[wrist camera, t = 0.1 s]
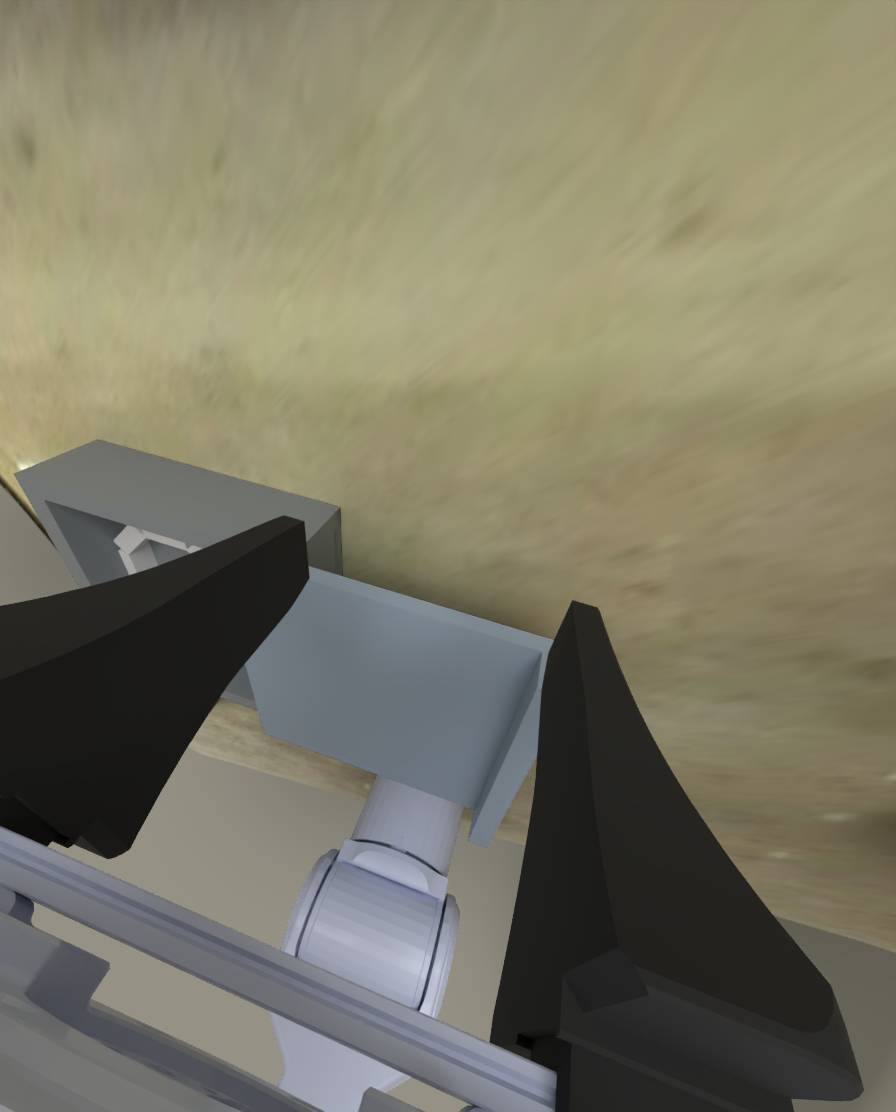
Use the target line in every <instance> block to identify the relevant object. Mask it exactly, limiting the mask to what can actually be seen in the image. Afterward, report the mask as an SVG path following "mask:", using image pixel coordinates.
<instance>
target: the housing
mask: <svg viewBox="0 0 896 1112" xmlns="http://www.w3.org/2000/svg"><path fill="white" fill-rule="evenodd" d="M14 475H15V477H16V479H17V481H18V482H19V484H20V486H21V487H22V489H23V491H24V493H25V494H26V496H27V498H28V500H29V501H30V503H31V505H32V507H33V508H34V510H35V512H36V514H37V515H38V517H39V519H40V520H41V522H42V524H43V526H44V527H45V529H46V531H47V533H48V534H49V536H50V538H51V540H52V541H53V543H54V545H55V547H56V548H57V550H58V552H59V553H60V555H61V557H62V559H63V560H64V562H65V564H66V565H67V567H68V569H69V570H70V573H71V574H72V576H73V578H74V580H75V581H76V583H77V585H78V586H79V588H84V587H88V586H93V585H97V584H100V583H104V582H108V581H111V580H114V579H118V578H121V577H124V576H128V575H131V574H134V573H138V572H141V571H144V570H147V569H150V568H153V567H156V566H158V565H161V564H164V563H167V562H169V561H172V560H174V559H177V558H180V557H182V556H185V555H188V554H190V553H193V552H196V551H198V550H201V549H203V548H206V547H208V546H211V545H213V544H215V543H218V542H220V541H223V540H225V539H227V538H230V537H232V536H234V535H237V534H239V533H241V532H244V531H246V530H248V529H251V528H253V527H255V526H258V525H260V524H263V523H265V522H267V521H270V520H272V519H275V518H278V517H280V516H283V515H285V516H289V517H292V518H295V519H299V520H302V521H305V532H306V543H307V554H308V565H309V566H310V567H313V568H317V569H320V570H323V571H327V572H330V573H333V574H337V575H340V576H343V575H342V548H341V520H340V507H338V506H334V505H331V504H327V503H323V502H320V501H316V500H313V499H309V498H306V497H302V496H298V495H295V494H291V493H288V492H284V491H280V490H277V489H273V488H270V487H266V486H262V485H259V484H255V483H252V482H248V481H245V480H241V479H237V478H234V477H230V476H227V475H223V474H219V473H216V472H212V471H209V470H205V469H201V468H198V467H194V466H191V465H187V464H183V463H180V462H176V461H173V460H169V459H166V458H162V457H158V456H155V455H151V454H148V453H144V452H140V451H137V450H133V449H130V448H126V447H122V446H119V445H115V444H112V443H108V442H105V441H101V440H95V441H92V442H90V443H88V444H85V445H83V446H80V447H78V448H75V449H73V450H71V451H68V452H66V453H63V454H61V455H58V456H56V457H54V458H51V459H49V460H46V461H44V462H41V463H39V464H36V465H34V466H32V467H29V468H27V469H24V470H22V471H19V472H17V473H15V474H14ZM220 697H221V698H223V699H226V700H229V701H232V702H234V703H237V704H240V705H243V706H246V707H248V708H251V709H254V710H257V711H258V709H257V705H256V702H255V698H254V694H253V691H252V687H251V684H250V680H249V677H248V673H247V669H246V666H245V664H244V666H243V667H242V668H241V669H240V670H239V672H238V673H237V674H236V676H235V677H234V678H233V679H232V681H231V682H230V683H229V685H228V686H227V687H226V689H225V690H224V692H223V693H222V695H221V696H220Z"/></svg>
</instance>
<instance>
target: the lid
mask: <svg viewBox="0 0 896 1112" xmlns="http://www.w3.org/2000/svg"><path fill="white" fill-rule="evenodd" d="M309 576H310V578H309V580H308V582H307V583H306V585H305V587H304V588H303V590H302V592H301V593H300V595H299V596H298V598H297V600H296V601H295V603H294V604H293V606H292V607H291V609H290V610H289V611H288V612H287V614H286V615H285V616H284V617H283V619H282V620H281V621H280V622H279V624H278V625H277V626H276V627H275V628H274V630H273V631H272V632H271V633H270V634H269V636H268V637H267V638H266V639H265V640H264V642H263V643H262V644H261V645H260V646H259V648H258V649H257V650H256V651H255V652H254V654H253V655H252V656H251V657H250V658H249V660H248V661H247V662H246V663H245V666H246V669H247V673H248V677H249V680H250V684H251V687H252V691H253V694H254V698H255V702H256V705H257V709H258V712H259V716H260V719H261V723H262V727H263V730H264V733H265V734H268V735H270V736H273V737H276V738H279V739H281V740H284V741H287V742H289V743H292V744H295V745H298V746H300V747H303V748H306V749H309V750H311V751H314V752H317V753H319V754H322V755H325V756H328V757H330V758H333V759H336V760H339V761H341V762H344V763H347V764H349V765H352V766H355V767H358V768H360V769H363V770H366V771H369V772H371V773H374V774H377V775H380V776H382V777H385V778H388V779H390V780H393V781H396V782H399V783H401V784H404V785H407V786H410V787H412V788H415V789H418V790H420V791H423V792H426V793H429V794H431V795H434V796H437V797H440V798H442V799H445V800H448V801H450V802H453V803H456V804H459V805H461V806H464V807H467V808H470V809H472V810H474V814H473V819H472V824H471V828H470V833H469V837H468V841H470V842H473V843H475V844H478V845H481V846H483V847H486V848H487V846H488V844H489V842H490V840H491V839H492V837H493V835H494V833H495V832H496V830H497V828H498V826H499V824H500V823H501V821H502V819H503V817H504V815H505V814H506V812H507V810H508V808H509V806H510V804H511V803H512V801H513V799H514V797H515V795H516V794H517V792H518V790H519V788H520V786H521V785H522V783H523V781H524V779H525V777H526V775H527V774H528V772H529V770H530V768H531V766H532V765H533V763H534V761H535V759H536V757H537V750H538V734H539V718H540V704H541V690H542V684H543V678H544V673H545V667H546V662H547V657H548V652H549V650H550V648H551V646H552V644H553V641H554V640H552V639H548V638H545V637H542V636H538V635H535V634H532V633H528V632H525V631H522V630H518V629H515V628H512V627H509V626H505V625H502V624H499V623H495V622H492V621H489V620H485V619H482V618H479V617H475V616H472V615H469V614H466V613H462V612H459V611H456V610H452V609H449V608H446V607H442V606H439V605H436V604H432V603H429V602H426V601H423V600H419V599H416V598H413V597H409V596H406V595H403V594H399V593H396V592H393V591H389V590H386V589H383V588H380V587H376V586H373V585H370V584H366V583H363V582H360V581H356V580H353V579H350V578H346V577H343V576H340V575H337V574H333V573H330V572H327V571H323V570H320V569H317V568H313V567H310V566H309Z"/></svg>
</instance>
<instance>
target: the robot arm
mask: <svg viewBox="0 0 896 1112" xmlns="http://www.w3.org/2000/svg"><path fill="white" fill-rule="evenodd" d="M309 578H310V576H309V565H308V554H307V543H306V532H305V521H302V520H299V519H295V518H292V517H289V516H285V515H283V516H280V517H278V518H275V519H272V520H270V521H267V522H265V523H263V524H260V525H258V526H255V527H253V528H251V529H248V530H246V531H244V532H241V533H239V534H237V535H234V536H232V537H230V538H227V539H225V540H223V541H220V542H218V543H215V544H213V545H211V546H208V547H206V548H203V549H201V550H198V551H196V552H193V553H190V554H188V555H185V556H182V557H180V558H177V559H174V560H172V561H169V562H167V563H164V564H161V565H158V566H156V567H153V568H150V569H147V570H144V571H141V572H138V573H134V574H131V575H128V576H124V577H121V578H118V579H114V580H111V581H108V582H104V583H100V584H97V585H93V586H88V587H84V588H80V589H76V590H72V591H68V592H64V593H60V594H56V595H52V596H48V597H43V598H39V599H34V600H29V601H24V602H19V603H14V604H9V605H3V606H0V1112H424V1111H422V1110H420V1109H418V1108H416V1107H413V1106H411V1105H409V1104H407V1103H405V1102H403V1101H401V1100H398V1099H397V1098H394V1097H392V1096H390V1095H388V1094H386V1092H388V1091H390V1090H391V1089H393V1088H395V1087H396V1086H398V1085H400V1084H401V1083H403V1082H405V1081H407V1080H408V1079H410V1078H411V1077H412V1078H414V1079H417V1080H419V1081H421V1082H423V1083H426V1084H427V1085H430V1086H432V1087H434V1088H436V1089H438V1090H440V1091H443V1092H445V1093H447V1094H449V1095H451V1096H453V1097H455V1098H457V1099H460V1100H462V1101H464V1102H466V1103H468V1104H470V1105H473V1106H466V1107H464V1108H463V1109H461V1110H460V1112H794V1110H793V1105H792V1101H791V1099H807V1100H825V1101H851V1100H854V1099H856V1098H858V1097H859V1096H860V1095H861V1094H862V1092H863V1091H864V1088H863V1084H862V1081H861V1077H860V1074H859V1070H858V1067H857V1063H856V1060H855V1057H854V1053H853V1050H852V1046H851V1043H850V1040H849V1036H848V1033H847V1029H846V1026H845V1023H844V1021H843V1018H842V1015H841V1012H840V1010H839V1006H838V1004H837V1001H836V998H835V996H834V993H833V990H832V988H831V985H830V984H829V983H828V982H827V980H826V979H825V978H824V977H823V976H822V974H821V973H820V972H819V971H818V969H817V968H816V967H815V966H814V965H813V963H812V962H811V961H810V960H809V958H808V957H807V956H806V955H805V954H804V952H803V951H802V950H801V949H800V948H799V946H798V945H797V944H796V943H795V941H794V940H793V939H792V938H791V937H790V935H789V934H788V933H787V932H786V930H785V929H784V928H783V927H782V926H781V924H780V923H779V922H778V921H777V920H776V918H775V917H774V916H773V915H772V913H771V912H770V911H769V910H768V908H767V907H766V906H765V905H764V903H763V902H762V901H761V899H760V898H759V897H758V895H757V894H756V893H755V891H754V890H753V889H752V887H751V886H750V885H749V883H748V882H747V881H746V879H745V878H744V877H743V875H742V874H741V873H740V871H739V870H738V869H737V867H736V866H735V865H734V864H733V862H732V861H731V860H730V858H729V857H728V855H727V854H726V853H725V851H724V850H723V848H722V847H721V845H720V844H719V842H718V841H717V839H716V838H715V837H714V835H713V834H712V832H711V831H710V829H709V828H708V826H707V825H706V823H705V822H704V820H703V819H702V818H701V816H700V815H699V813H698V812H697V810H696V809H695V807H694V806H693V804H692V803H691V801H690V800H689V798H688V797H687V795H686V793H685V792H684V790H683V789H682V787H681V785H680V784H679V782H678V781H677V779H676V777H675V776H674V774H673V772H672V771H671V769H670V767H669V765H668V764H667V762H666V760H665V758H664V757H663V755H662V753H661V751H660V750H659V748H658V746H657V744H656V742H655V741H654V739H653V737H652V735H651V733H650V731H649V729H648V727H647V725H646V723H645V721H644V719H643V717H642V715H641V713H640V711H639V709H638V707H637V705H636V703H635V700H634V698H633V696H632V694H631V692H630V689H629V687H628V685H627V682H626V680H625V678H624V675H623V673H622V671H621V668H620V666H619V663H618V661H617V658H616V656H615V653H614V651H613V648H612V645H611V643H610V640H609V637H608V634H607V631H606V629H605V626H604V623H603V620H602V617H601V614H600V611H599V610H598V608H597V607H594V606H590V605H587V604H584V603H580V602H577V601H573V600H572V602H571V604H570V607H569V609H568V611H567V613H566V615H565V618H564V620H563V622H562V624H561V626H560V628H559V631H558V633H557V635H556V637H555V639H554V641H553V644H552V646H551V648H550V650H549V652H548V657H547V662H546V667H545V673H544V678H543V684H542V690H541V704H540V718H539V734H538V750H537V766H536V779H535V789H534V797H533V804H532V810H531V816H530V822H529V829H528V835H527V841H526V847H525V852H524V859H523V864H522V870H521V876H520V881H519V887H518V892H517V898H516V903H515V908H514V914H513V919H512V925H511V930H510V935H509V940H508V945H507V951H506V956H505V960H504V965H503V970H502V976H501V981H500V986H499V990H498V995H497V1000H496V1005H495V1009H494V1014H493V1021H492V1028H491V1035H490V1043H489V1042H487V1041H485V1040H483V1039H480V1038H478V1037H476V1036H473V1035H471V1034H469V1033H467V1032H464V1031H462V1030H460V1029H458V1028H455V1027H453V1026H451V1025H449V1024H446V1023H444V1022H442V1021H439V1020H437V1017H438V1014H439V1011H440V1007H441V1004H442V1001H443V997H444V993H445V989H446V985H447V980H448V977H449V972H450V968H451V963H452V958H453V953H454V948H455V943H456V938H457V932H458V926H459V917H460V911H459V908H458V906H457V903H456V899H455V897H454V896H453V895H450V894H447V895H446V890H447V887H448V882H449V878H447V875H448V870H449V866H450V862H451V858H452V854H453V850H454V845H455V841H456V837H457V833H458V829H459V824H460V820H461V816H462V812H463V808H464V806H461V805H459V804H456V803H453V802H450V801H448V800H445V799H442V798H440V797H437V796H434V795H431V794H429V793H426V792H423V791H420V790H418V789H415V788H412V787H410V786H407V785H404V784H401V783H399V782H396V781H393V780H390V779H388V778H385V777H382V776H380V775H377V776H376V779H375V781H374V783H373V786H372V788H371V791H370V793H369V795H368V798H367V800H366V803H365V805H364V808H363V810H362V813H361V815H360V817H359V820H358V822H357V825H356V827H355V830H354V832H353V834H352V837H351V839H347V838H346V839H345V840H344V842H343V844H342V847H341V849H340V851H339V850H337V849H331V850H330V851H329V852H328V853H326V854H325V855H323V856H321V857H320V858H319V859H318V861H317V862H316V863H315V865H314V867H313V868H312V870H311V872H310V874H309V876H308V877H307V879H306V881H305V883H304V885H303V887H302V890H301V892H300V894H299V896H298V899H297V901H296V903H295V906H294V908H293V911H292V913H291V916H290V919H289V922H288V925H287V928H286V931H285V934H284V938H283V942H282V946H281V948H280V950H279V949H277V948H275V947H272V946H270V945H268V944H266V943H263V942H261V941H259V940H256V939H254V938H252V937H250V936H247V935H245V934H243V933H241V932H238V931H236V930H234V929H232V928H229V927H227V926H225V925H223V924H220V923H218V922H216V921H213V920H211V919H209V918H207V917H205V916H202V915H200V914H198V913H195V912H193V911H191V910H189V909H186V908H184V907H182V906H180V905H177V904H175V903H173V902H171V901H168V900H166V899H164V898H162V897H159V896H157V895H155V894H153V893H150V892H148V891H146V890H144V889H141V888H139V887H137V886H134V885H132V884H130V883H128V882H125V881H123V880H121V879H118V878H116V877H114V876H111V875H110V874H107V873H105V872H103V871H100V870H98V869H96V868H94V867H91V866H89V865H87V864H84V863H82V862H80V861H78V860H76V859H73V858H71V857H69V856H67V855H64V854H62V853H60V852H58V851H55V850H53V849H51V848H48V847H47V846H48V845H49V844H50V843H51V842H52V841H53V842H55V843H57V844H60V845H62V846H64V847H66V848H69V847H71V846H72V845H73V844H75V845H76V846H79V847H81V848H84V849H86V850H88V851H90V852H93V853H95V854H97V855H99V856H102V857H104V858H106V859H111V858H114V857H117V856H119V855H121V854H123V853H125V852H126V851H128V850H129V849H130V848H131V846H132V844H133V842H134V840H135V838H136V836H137V834H138V832H139V831H140V829H141V827H142V825H143V823H144V822H145V820H146V818H147V816H148V814H149V812H150V811H151V809H152V807H153V805H154V803H155V801H156V800H157V798H158V796H159V794H160V792H161V791H162V789H163V787H164V785H165V784H166V782H167V780H168V779H169V777H170V775H171V774H172V772H173V770H174V768H175V767H176V765H177V764H178V761H179V760H180V758H181V757H182V755H183V753H184V752H185V750H186V748H187V747H188V745H189V744H190V742H191V741H192V739H193V738H194V736H195V734H196V733H197V731H198V730H199V728H200V727H201V725H202V723H203V722H204V720H205V719H206V717H207V716H208V714H209V713H210V711H211V710H212V708H213V707H214V705H215V704H216V702H217V701H218V699H219V698H220V696H221V695H222V693H223V692H224V690H225V689H226V687H227V686H228V685H229V683H230V682H231V681H232V679H233V678H234V677H235V676H236V674H237V673H238V672H239V670H240V669H241V668H242V667H243V666H244V664H245V663H246V662H247V661H248V660H249V658H250V657H251V656H252V655H253V654H254V652H255V651H256V650H257V649H258V648H259V646H260V645H261V644H262V643H263V642H264V640H265V639H266V638H267V637H268V636H269V634H270V633H271V632H272V631H273V630H274V628H275V627H276V626H277V625H278V624H279V622H280V621H281V620H282V619H283V617H284V616H285V615H286V614H287V612H288V611H289V610H290V609H291V607H292V606H293V604H294V603H295V601H296V600H297V598H298V596H299V595H300V593H301V592H302V590H303V588H304V587H305V585H306V583H307V582H308V580H309ZM445 895H446V898H445ZM444 899H445V901H444ZM31 900H32V901H34V902H36V903H38V904H40V905H42V906H44V907H47V908H49V909H51V910H53V911H56V912H57V913H59V914H62V915H64V916H66V917H68V918H70V919H72V920H75V921H77V922H79V923H81V924H83V925H85V926H88V927H90V928H92V929H94V930H96V931H98V932H100V933H103V934H105V935H107V936H109V937H111V938H113V939H115V940H118V941H120V942H122V943H124V944H126V945H128V946H130V947H133V948H135V949H137V950H139V951H141V952H144V953H146V954H148V955H150V956H152V957H154V958H156V959H158V960H161V961H163V962H165V963H167V964H169V965H171V966H174V967H176V968H178V969H180V970H182V971H184V972H187V973H189V974H191V975H193V976H195V977H197V978H199V979H202V980H204V981H206V982H208V983H210V984H212V985H214V986H217V987H219V988H221V989H223V990H225V991H227V992H229V993H232V994H234V995H236V996H238V997H240V998H242V999H245V1000H247V1001H249V1002H251V1003H253V1004H255V1005H258V1006H260V1007H262V1008H264V1009H266V1010H268V1015H269V1018H270V1021H271V1024H272V1028H273V1031H274V1034H275V1037H276V1041H277V1044H278V1047H279V1050H280V1054H281V1057H282V1061H283V1065H284V1071H283V1074H282V1077H281V1079H280V1082H279V1084H278V1087H276V1086H274V1085H272V1084H271V1083H269V1082H266V1081H265V1080H262V1079H261V1078H258V1077H257V1076H254V1075H252V1074H251V1073H249V1072H246V1071H244V1070H242V1069H240V1068H238V1067H236V1066H234V1065H232V1064H230V1063H228V1062H226V1061H224V1060H222V1059H220V1058H217V1057H215V1056H213V1055H211V1054H209V1053H207V1052H205V1051H203V1050H201V1049H198V1048H196V1047H194V1046H192V1045H190V1044H188V1043H186V1042H184V1041H181V1040H179V1039H177V1038H175V1037H173V1036H170V1035H168V1034H166V1033H164V1032H162V1031H160V1030H158V1029H155V1028H153V1027H151V1026H149V1025H147V1024H145V1023H142V1022H140V1021H138V1020H136V1019H134V1018H132V1017H129V1016H127V1015H125V1014H123V1013H121V1012H119V1011H116V1010H114V1009H112V1008H110V1007H108V1006H105V1005H103V1004H101V1003H99V1002H97V1001H95V1000H93V999H91V997H92V995H93V993H94V992H95V990H96V988H97V987H98V985H99V984H100V983H101V981H102V979H103V978H104V977H105V975H106V973H107V972H108V970H109V969H110V965H109V964H110V963H109V962H107V961H105V960H103V959H101V958H99V957H97V956H95V955H93V954H91V953H89V952H87V951H85V950H83V949H80V948H78V947H76V946H74V945H72V944H70V943H68V942H65V941H63V940H61V939H59V938H57V937H55V936H53V935H51V934H48V933H46V932H44V931H42V930H40V929H38V928H35V927H34V926H33V925H32V923H31V917H32V914H33V912H34V903H33V902H32V901H31ZM443 903H444V904H443Z"/></svg>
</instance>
